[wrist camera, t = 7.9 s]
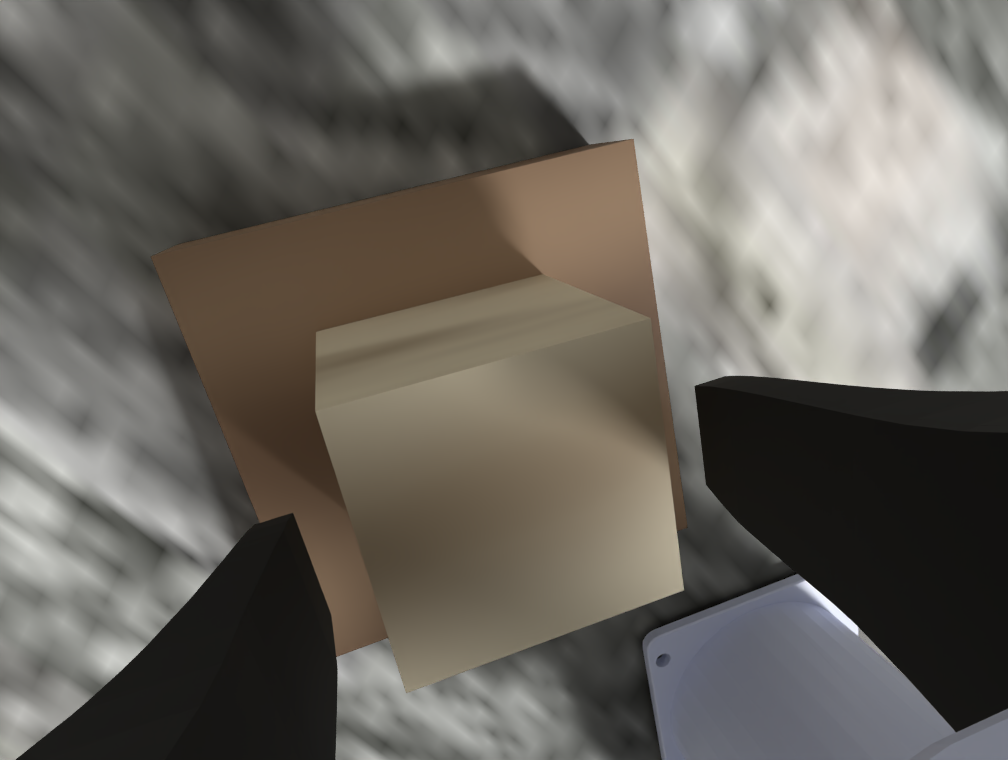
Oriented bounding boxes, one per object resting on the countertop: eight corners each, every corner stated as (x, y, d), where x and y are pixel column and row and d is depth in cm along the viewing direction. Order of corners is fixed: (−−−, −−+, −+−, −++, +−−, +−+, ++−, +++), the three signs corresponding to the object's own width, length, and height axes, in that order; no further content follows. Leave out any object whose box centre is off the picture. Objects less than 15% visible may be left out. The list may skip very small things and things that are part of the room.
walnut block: (637, 479, 20) (687, 527, 17) (318, 590, 18) (317, 663, 16) (581, 145, 17) (633, 138, 14) (182, 242, 15) (151, 256, 12)
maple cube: (577, 472, 16) (683, 590, 11) (378, 536, 15) (406, 692, 10) (543, 274, 14) (650, 318, 10) (316, 331, 13) (315, 412, 9)
